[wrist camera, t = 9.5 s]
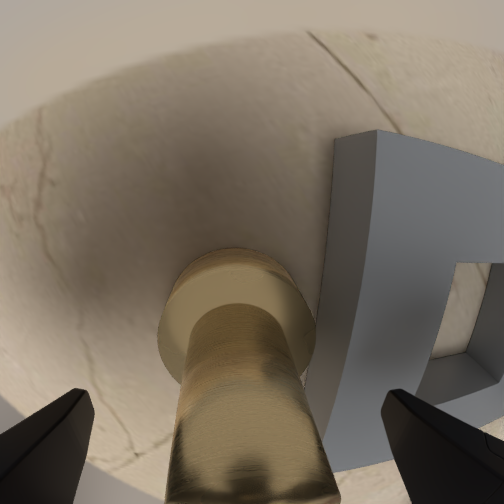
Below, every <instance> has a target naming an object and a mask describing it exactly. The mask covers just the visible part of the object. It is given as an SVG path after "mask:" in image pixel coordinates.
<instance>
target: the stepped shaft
mask: <svg viewBox="0 0 504 504" xmlns="http://www.w3.org/2000/svg"><path fill="white" fill-rule="evenodd" d="M157 337H158V348H159V353H160V356H161V358H162V361H163V363H164V365H165V367H166V368H167V370H168V371H169V373H170V374H171V375H172V377H173V378H174V379H175V380H176V381H177V382H178V383H179V384H181V389H180V395H179V401H178V408H177V414H176V420H175V427H174V434H173V440H172V447H171V455H170V462H169V470H168V477H167V485H166V494H165V502H164V504H340V503H341V495H340V492H339V489H338V487H337V484H336V481H335V478H334V475H333V472H332V469H331V466H330V463H329V460H328V458H327V455H326V452H325V449H324V446H323V443H322V440H321V437H320V434H319V432H318V429H317V426H316V423H315V420H314V417H313V414H312V411H311V409H310V406H309V403H308V400H307V397H306V394H305V391H304V388H303V386H302V383H301V380H300V376H301V374H302V373H303V372H304V370H305V369H306V368H307V366H308V364H309V362H310V360H311V358H312V355H313V353H314V349H315V344H316V327H315V322H314V318H313V316H312V313H311V311H310V309H309V307H308V306H307V304H306V302H305V300H304V299H303V297H302V295H301V294H300V292H299V290H298V288H297V287H296V285H295V283H294V282H293V280H292V278H291V276H290V275H289V274H288V272H287V271H286V270H285V269H284V268H283V267H282V266H281V265H280V264H279V263H278V262H277V261H275V260H274V259H272V258H271V257H269V256H267V255H265V254H263V253H260V252H257V251H254V250H250V249H244V248H226V249H220V250H216V251H213V252H210V253H207V254H205V255H203V256H201V257H199V258H198V259H196V260H194V261H193V262H192V263H191V264H190V265H188V266H187V267H186V268H185V270H184V271H183V272H182V273H181V274H180V276H179V277H178V279H177V281H176V283H175V285H174V287H173V289H172V292H171V294H170V296H169V299H168V301H167V304H166V306H165V309H164V311H163V314H162V316H161V319H160V323H159V327H158V334H157Z"/></svg>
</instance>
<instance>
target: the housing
mask: <svg viewBox="0 0 504 504" xmlns="http://www.w3.org/2000/svg"><path fill="white" fill-rule="evenodd" d="M456 262H463V263H492V267H491V272H490V276H489V280H488V284H487V288H486V292H485V295H484V299H483V303H482V306H481V309H480V313H479V316H478V319H477V322H476V325H475V328H474V331H473V334H472V337H471V340H470V342H469V345H468V348H467V350H466V352H465V353H461V354H456V355H452V356H447V357H442V358H438V359H432V360H429V358H430V355H431V352H432V349H433V346H434V343H435V340H436V337H437V334H438V331H439V328H440V325H441V321H442V318H443V315H444V311H445V307H446V304H447V300H448V296H449V292H450V288H451V284H452V280H453V276H454V271H455V266H456ZM398 388H401V389H403V390H405V391H407V392H409V393H410V394H412V395H414V396H416V397H418V398H420V399H421V400H423V401H425V402H427V403H429V404H431V405H433V406H435V407H436V408H438V409H440V410H442V411H444V412H446V413H448V414H450V415H452V416H454V417H456V418H458V419H459V420H461V421H463V422H465V423H467V424H469V425H471V426H473V427H475V428H477V429H478V428H480V427H482V426H484V425H486V424H488V423H490V422H492V421H494V420H496V419H498V418H500V417H502V416H504V165H502V164H499V163H496V162H493V161H491V160H488V159H485V158H482V157H479V156H476V155H473V154H470V153H467V152H464V151H460V150H457V149H454V148H451V147H447V146H444V145H440V144H436V143H433V142H429V141H425V140H421V139H417V138H413V137H409V136H405V135H401V134H396V133H392V132H387V131H382V130H373V131H368V132H363V133H359V134H354V135H350V136H345V137H341V138H337V139H335V146H334V163H333V178H332V191H331V204H330V215H329V225H328V235H327V244H326V253H325V262H324V270H323V278H322V285H321V293H320V300H319V307H318V314H317V320H316V344H315V349H314V353H313V355H312V358H311V360H310V362H309V368H308V373H307V378H306V384H305V389H304V391H305V394H306V397H307V400H308V403H309V406H310V409H311V411H312V414H313V417H314V420H315V423H316V426H317V429H318V432H319V434H320V437H321V440H322V443H323V446H324V449H325V452H326V455H327V458H328V460H329V463H330V466H331V469H332V472H333V473H335V472H340V471H346V470H351V469H356V468H360V467H365V466H369V465H373V464H378V463H381V462H385V461H389V460H393V459H394V457H393V455H392V452H391V449H390V445H389V442H388V438H387V435H386V431H385V428H384V424H383V421H382V418H381V407H382V405H383V402H384V400H385V397H386V394H387V392H388V391H389V390H392V389H398Z"/></svg>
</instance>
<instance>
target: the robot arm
mask: <svg viewBox="0 0 504 504" xmlns="http://www.w3.org/2000/svg"><path fill="white" fill-rule="evenodd" d="M94 415H95V412H94V408H93V405H92V402H91V399H90V396H89V393H88V391H87V390H84V389H79V388H74V389H72V390H70V391H69V392H67V393H66V394H64V395H63V396H61V397H59V398H58V399H56V400H55V401H53V402H51V403H50V404H48V405H47V406H45V407H44V408H42V409H40V410H39V411H37V412H36V413H34V414H32V415H31V416H29V417H28V418H26V419H24V420H23V421H21V422H20V423H18V424H16V425H15V426H13V427H11V428H10V429H8V430H7V431H5V432H3V433H2V434H0V504H73V501H74V497H75V494H76V490H77V486H78V483H79V480H80V476H81V473H82V470H83V466H84V463H85V460H86V456H87V451H88V446H89V440H90V435H91V430H92V425H93V421H94ZM381 418H382V421H383V424H384V428H385V431H386V435H387V438H388V442H389V445H390V449H391V452H392V455H393V457H394V460H395V462H396V465H397V467H398V470H399V472H400V474H401V477H402V479H403V482H404V484H405V487H406V490H407V492H408V495H409V497H410V500H411V502H412V504H504V441H502V440H500V439H498V438H496V437H494V436H492V435H490V434H488V433H486V432H483V431H481V430H479V429H477V428H475V427H473V426H471V425H469V424H467V423H465V422H463V421H461V420H459V419H458V418H456V417H454V416H452V415H450V414H448V413H446V412H444V411H442V410H440V409H438V408H436V407H435V406H433V405H431V404H429V403H427V402H425V401H423V400H421V399H420V398H418V397H416V396H414V395H412V394H410V393H409V392H407V391H405V390H403V389H401V388H398V389H392V390H389V391H388V392H387V394H386V397H385V400H384V402H383V405H382V407H381Z"/></svg>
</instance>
